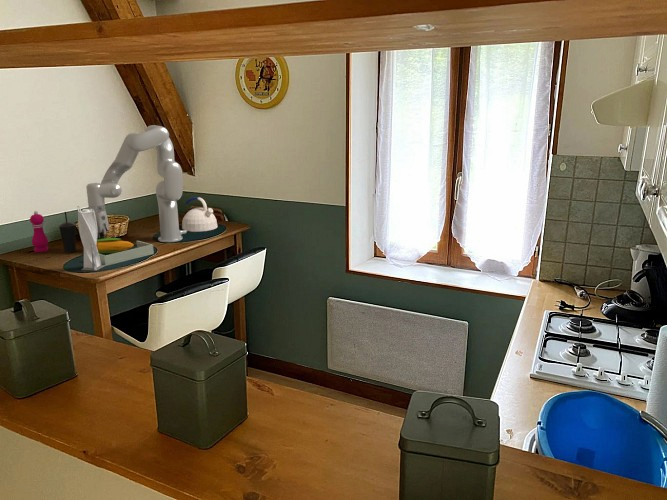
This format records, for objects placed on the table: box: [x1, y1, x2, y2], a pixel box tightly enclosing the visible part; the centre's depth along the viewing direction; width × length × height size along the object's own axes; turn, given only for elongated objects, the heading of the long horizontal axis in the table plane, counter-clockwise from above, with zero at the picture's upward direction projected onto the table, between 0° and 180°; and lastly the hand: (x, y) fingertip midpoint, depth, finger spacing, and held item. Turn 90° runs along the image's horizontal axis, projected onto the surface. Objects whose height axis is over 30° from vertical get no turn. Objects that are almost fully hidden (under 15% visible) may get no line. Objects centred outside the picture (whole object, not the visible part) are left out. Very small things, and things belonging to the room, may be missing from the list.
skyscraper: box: [76, 205, 106, 272], centre depth 246 cm, size 8×8×28 cm
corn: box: [96, 237, 134, 255], centre depth 273 cm, size 7×8×20 cm
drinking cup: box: [57, 211, 77, 254], centre depth 272 cm, size 8×8×20 cm
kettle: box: [181, 196, 218, 233], centre depth 323 cm, size 20×21×18 cm
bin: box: [99, 240, 155, 267], centre depth 265 cm, size 25×13×5 cm, turn 142°
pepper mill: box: [29, 210, 49, 253], centre depth 274 cm, size 7×7×20 cm
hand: (101, 245), depth 277 cm, fingers closed
